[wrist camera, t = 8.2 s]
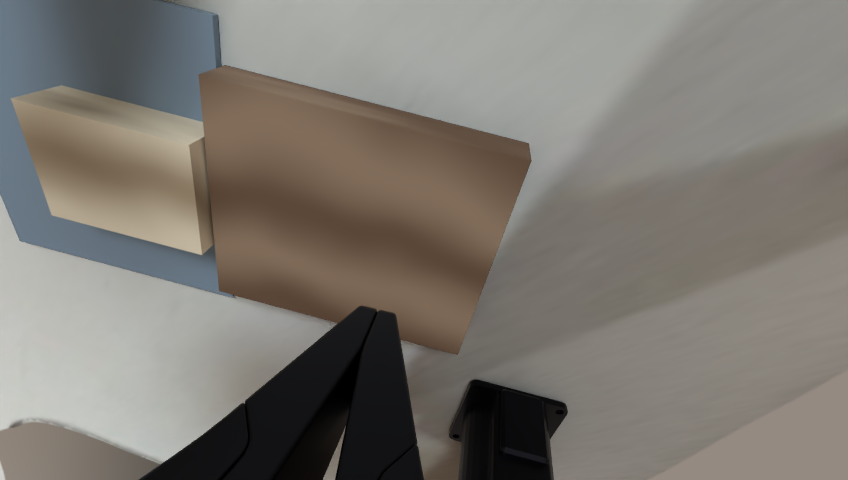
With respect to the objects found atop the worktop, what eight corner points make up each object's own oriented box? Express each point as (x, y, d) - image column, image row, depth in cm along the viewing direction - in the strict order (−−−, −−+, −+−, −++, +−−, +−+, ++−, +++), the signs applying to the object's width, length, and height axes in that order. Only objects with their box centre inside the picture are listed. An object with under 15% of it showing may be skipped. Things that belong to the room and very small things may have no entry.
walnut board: (460, 329, 25) (457, 354, 24) (237, 270, 25) (219, 291, 24) (528, 143, 18) (531, 160, 17) (225, 65, 19) (198, 74, 17)
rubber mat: (235, 293, 26) (232, 297, 26) (25, 237, 27) (19, 240, 26) (217, 14, 18) (212, 15, 17) (-98, -66, 18) (-109, -67, 17)
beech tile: (228, 229, 23) (202, 255, 21) (91, 193, 23) (51, 215, 21) (221, 126, 20) (188, 144, 18) (61, 85, 20) (11, 98, 18)
